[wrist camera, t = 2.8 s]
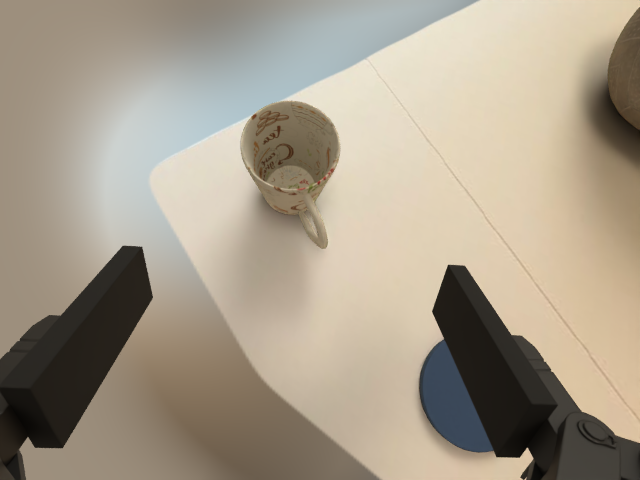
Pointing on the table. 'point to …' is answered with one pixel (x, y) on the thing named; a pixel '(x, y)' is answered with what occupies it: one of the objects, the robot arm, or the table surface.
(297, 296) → the table surface
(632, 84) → the bowl
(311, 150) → the mug
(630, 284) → the table surface
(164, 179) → the table surface
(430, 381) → the coaster
